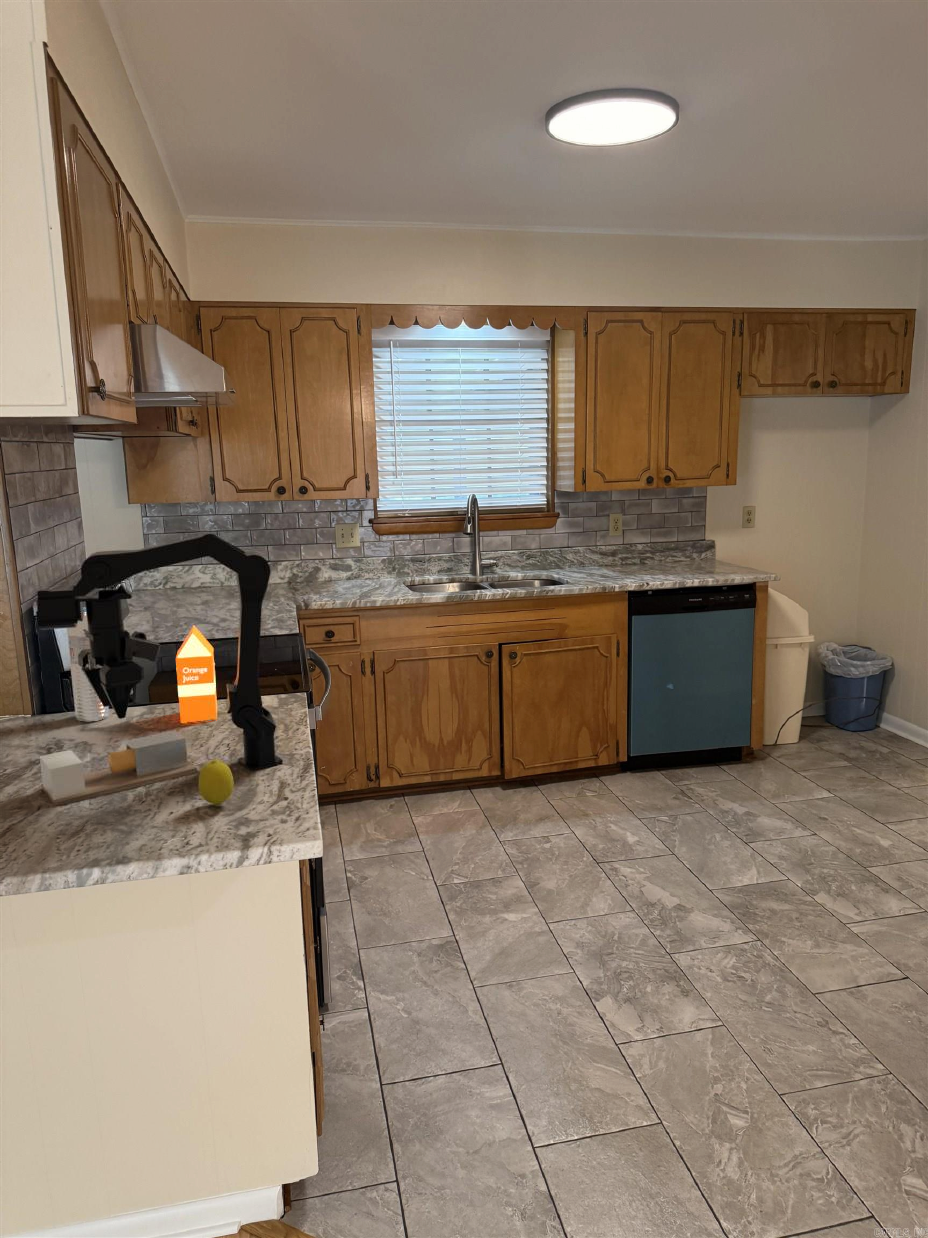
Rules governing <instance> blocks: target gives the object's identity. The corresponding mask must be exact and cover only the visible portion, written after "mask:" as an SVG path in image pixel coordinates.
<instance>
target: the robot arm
mask: <svg viewBox="0 0 928 1238" xmlns="http://www.w3.org/2000/svg"><path fill="white" fill-rule="evenodd" d="M206 557H209V558H211V559H213V560H215V561H216V562H218V563H220V564H221V565H223V566H224V567H226V568H228V569H229V570H231V571H233V572H234V573H235V577H236V584H237V589H238V591H237V592H238V596H239V601H240V602H239V622H238V623H239V624H238V647H237V649H238V650H237V670H236V671H237V672H236V678H235V680H234V682H233V684H232V683H226V691H227V699H226V701H225V703H224V704H225V707H226V713H227V714H228V715H229V714H230V719H231V721H232V723H233V724H234V725H235V726H236V727H237V728H239V729H241V730H243V731H242V738H243V739H242V740H243V754H244V756H243V757H240V758H239V757H238V759H237V762H238V763H239V764H241V765H243V766H244V767H245V768H247V769H249V771H256V770H260V769H263V768H268V767H272V766H275V765H279V764H283V763H282V762H284V760H283V759H282V758H280V757H278V756H277V755H276V740H275V732H276V729H277V726H276V722H275V720H274V717H273V714H272V712H270V711H269V710H268V709H267V708H265V707H264V706H263V699H262V694H261V687H260V682H259V681H260V680H259V672H260V671H259V670H260V653H261V652H260V648H261V630H262V629H261V627H262V626H261V625H262V607H263V602H264V599H265V596H266V593H267V590H268V585H269V581H270V577H271V571H272V570H271V565H270V563H269V561H268V560H267V559H266V558H265V557H264V556H263V555H262V554H260V553H259V552H256V551H251V550H250V551H244V550H243V549H242V548H239V547H238V546H236V545H234V544H232V543H230V542H228V541H226V540H225V539H223V538H221V537H220V536H219V535H218V534H217V533H215V532H212V531H209V532H207V531H206V532H204V533H202V534H200V535H197V536H192V537H187V538H182V539H179V540H174V541H169V542H165V543H160V544H157V545H156V544H155V545H153V546H148V547H144V548H140V549H131V550H130V549H129V550H126V549H121V550H118V549H116V550H101V551H96V552H93V553H91V554H90V555H89V556H87V558H85V560H84V561H83V562H82V564H81V567H80V576H81V577H80V579H79V580H78V581H76V582H75V583H74V584H73V585H72V586H73V588H61V589H58V588H56V589H51V588H50V589H49V588H41V589H40V588H39V590H38V591H37V592H36V594H37V595H36V596H37V601H36V606H37V607H36V609H37V610H36V612H35V615H36V621H37V623H36V624H37V626H38V629H39V630H42V631H45V630H56V629H57V630H58V629H67V628H74V627H77V623H78V621H83V607H84V605H83V602H85V607H86V614H87V622H88V631H85V633H86V637H87V638H89V643H90V649H83V650H82V651H81V652H80V653H79V654H78V664H79V666H81V667H82V668H81V670H82V671H83V673H84V674H85V676H86V678H87V679H88V681H89V683H90V684H91V686H92V688H93V689H94V691H95V693H96V694H97V696H98V698H99V699H100V701H101V703H102V705H103V706H104V707H106V706H108V707H110V706H111V707H112V709H113V710H114V713H115V715H116V717H117V718H118V719H120V720H121V719H125V718H126V716H127V712H128V707H129V702H130V697H131V693H132V690H133V688H135V687H136V686H137V685H138V684H141V682H142V680H144V679H145V673H144V667H142V665H140V664H138V663H137V662H135V661H133V660H134V658H138V659H139V658H140V659H144V660H148V661H150V662H155V663H156V662H157V661H158V657H159V656H158V655H159V654H160V649H161V644H160V643H158V642H156V641H154V640H151V639H147V634H146V633H145V632H141V631H138V630H137V631H136V630H135V631H133V633H132V634H131V635H130V632H129V631H128V630H127V629H125V625H124V624H125V623H124V615H123V612H124V611H123V603H122V600H130V599H132V598H133V594H134V593H133V592H132V591H130V590H129V589H127V588H126V586H125V585H124V583H121V582H123V581H125V580H127V579H129V578H132V577H134V576H137V575H138V574H140V573H143V572H147V571H151V570H155V569H159V568H164V567H168V566H172V565H176V564H181V563H184V562H189V561H192V560H193V561H194V560H197V559H201V558H206ZM118 583H120V585H118V587H117V588H112V589H111V588H110V589H108V587H111V586H114V585H116V584H118ZM105 588H107V589H105ZM95 589H98V594H94V595H88V594H90V593H91V592H93V591H94V590H95Z"/></svg>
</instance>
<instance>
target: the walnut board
mask: <svg viewBox="0 0 928 1238" xmlns="http://www.w3.org/2000/svg"><path fill="white" fill-rule="evenodd" d="M195 773H198V768H197V767H196V766H195V765H194V764H192V763H191V762H190V761H189V760H187V766H185V767H180V768H176V769H172V770H168V771H164V772H159V773H155V774H151V775H147V776H142V777H138V778H137V777H136V776H135V775H134V774H133V773H132V772H131V771H130V770H126V771H122V772H117V773H111V771H110V768H107V769H103V770H98V771H94V772H89V773H84V782H85V792H86V793H81V794H77V795H73V796H69V797H65V798H61V799H56V800H53V799H52V797H51V796H50V795H49V793H48V792H47V791H46V789H45V788H44V787H43V783H42V784H41V789H42V790H43V791H44V793H45V795H46V796H47V797H48V798H49V800H50V802H52V803H53V805H54V806H55V807H59V806H63V805H67V804H73V803H76V802H79V801H84V800H88V799H93V798H95V797H100V796H104V795H110V794H113V793H117V792H122V791H125V790H128V789H132V788H133V789H134V788H137V787H138V788H139V787H142V786H146V785H150V784H153V783H159V782H163V781H166V780H170V779H175V778H178V777H182V776H187V775H190V774H191V775H192V774H195Z"/></svg>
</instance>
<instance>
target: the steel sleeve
mask: <svg viewBox="0 0 928 1238" xmlns="http://www.w3.org/2000/svg"><path fill="white" fill-rule="evenodd" d="M124 743H125V750H128V749H133V750H134V756H135V767H136V768H135V769H130V771H131V772H132V773H133V774H134V775H135V776H136V777H137V778H138V777H142V776H147V775H151V774H155V773H159V772H164V771H168V770H172V769H176V768H180V767H185V766H187V761H188V758H187V757H188V756H187V755H188V754H187V755H186V747H187V744H186V743H187V742H186V737H185V736H184V735H181V733H179V732H177V731H176V730H169V731H164V732H161V733H160V732H159V733H155V734H152V735H147V736H146V735H145V736H141V737H135V738H132V739H127V740H124Z"/></svg>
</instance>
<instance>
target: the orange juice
mask: <svg viewBox="0 0 928 1238" xmlns="http://www.w3.org/2000/svg"><path fill="white" fill-rule="evenodd" d="M176 653H177V654H176V656H175V665H176V676H177V677H176V678H177V693H178V694H177V695H178V703H179V706H178V707H179V715H180V724H181V723H183V724H188V723H187V722H194V723H196V722H195V721H204V720H210V719H217V720H218V704H217V703H218V701H217V699H218V698H217V687H216V686H217V684H216V669H215V665H216V663H215V659H214V657H215V656H214V647H213V646H212V645H211V644H210V642H209V641H208V640H207V638H206V637H205V636H204V635H203V634H202V632H201V631H199V629H198V628H197V627H196V626H195V625H193V627H192V628H191V630H190V631H189V633H188V635H187V636H186V638H185V639H184V641H183V642H182V644H181V646H180V648H179V649H178V650H177V652H176Z"/></svg>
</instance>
